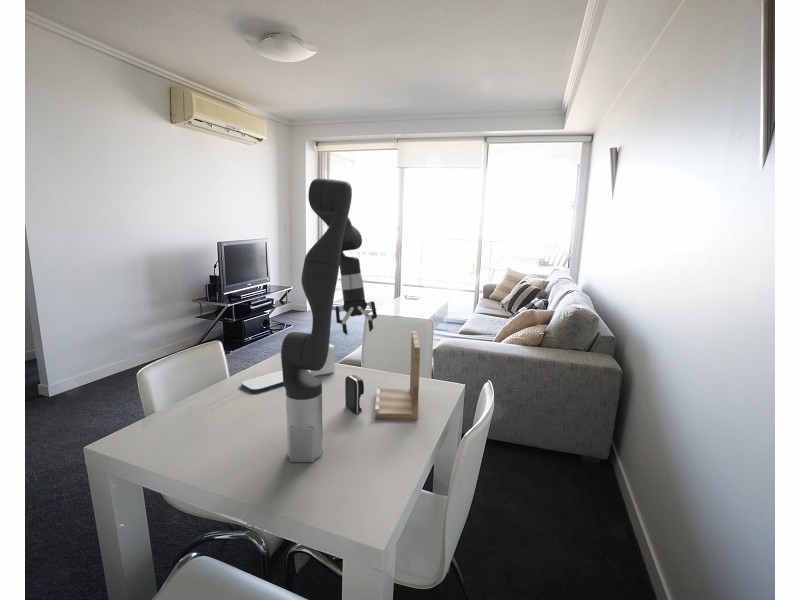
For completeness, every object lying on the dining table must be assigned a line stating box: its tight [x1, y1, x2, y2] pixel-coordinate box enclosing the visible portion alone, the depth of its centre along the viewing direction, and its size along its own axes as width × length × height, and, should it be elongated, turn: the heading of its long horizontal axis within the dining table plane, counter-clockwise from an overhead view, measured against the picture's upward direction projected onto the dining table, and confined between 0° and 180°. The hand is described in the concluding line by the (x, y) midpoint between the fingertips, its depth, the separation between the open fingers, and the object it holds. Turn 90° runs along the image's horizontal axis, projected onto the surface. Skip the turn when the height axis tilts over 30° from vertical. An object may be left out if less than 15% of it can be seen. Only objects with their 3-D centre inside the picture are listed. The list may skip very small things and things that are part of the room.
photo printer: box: [310, 343, 336, 377], centre depth 169 cm, size 10×4×12 cm, turn 123°
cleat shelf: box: [374, 330, 421, 421], centre depth 139 cm, size 20×14×24 cm
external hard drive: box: [240, 369, 284, 394], centre depth 159 cm, size 24×12×2 cm, turn 138°
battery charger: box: [344, 374, 365, 414], centre depth 137 cm, size 7×4×11 cm, turn 37°
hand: (358, 332), depth 146 cm, fingers open, 8 cm apart
